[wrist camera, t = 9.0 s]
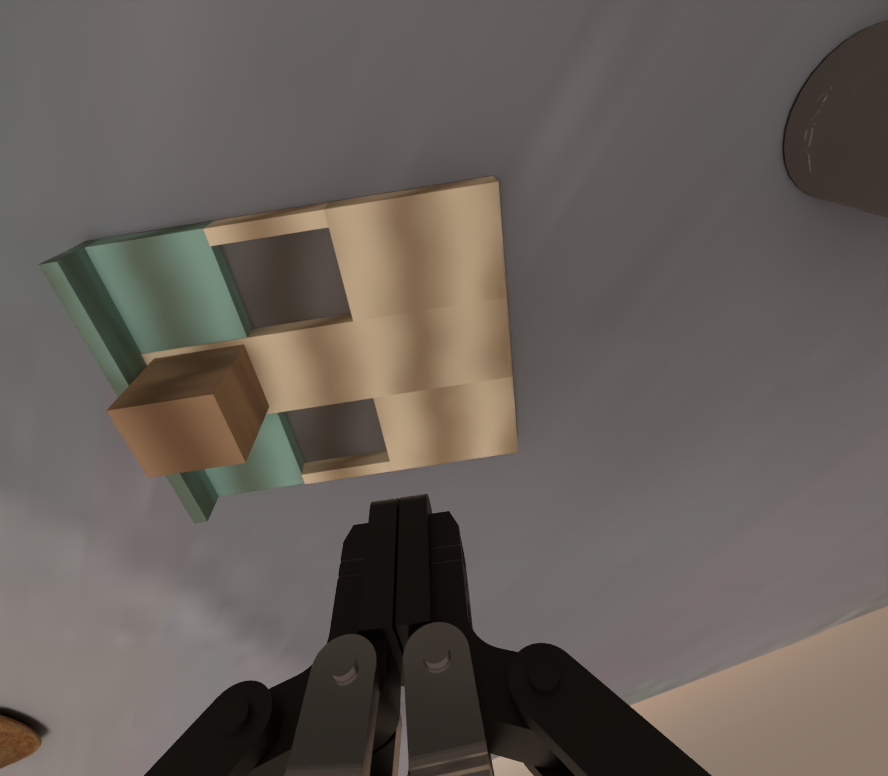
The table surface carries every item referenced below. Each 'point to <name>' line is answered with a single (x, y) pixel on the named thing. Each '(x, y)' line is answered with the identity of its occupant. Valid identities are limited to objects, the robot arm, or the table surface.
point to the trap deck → (320, 328)
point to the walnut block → (192, 411)
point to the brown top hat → (16, 741)
